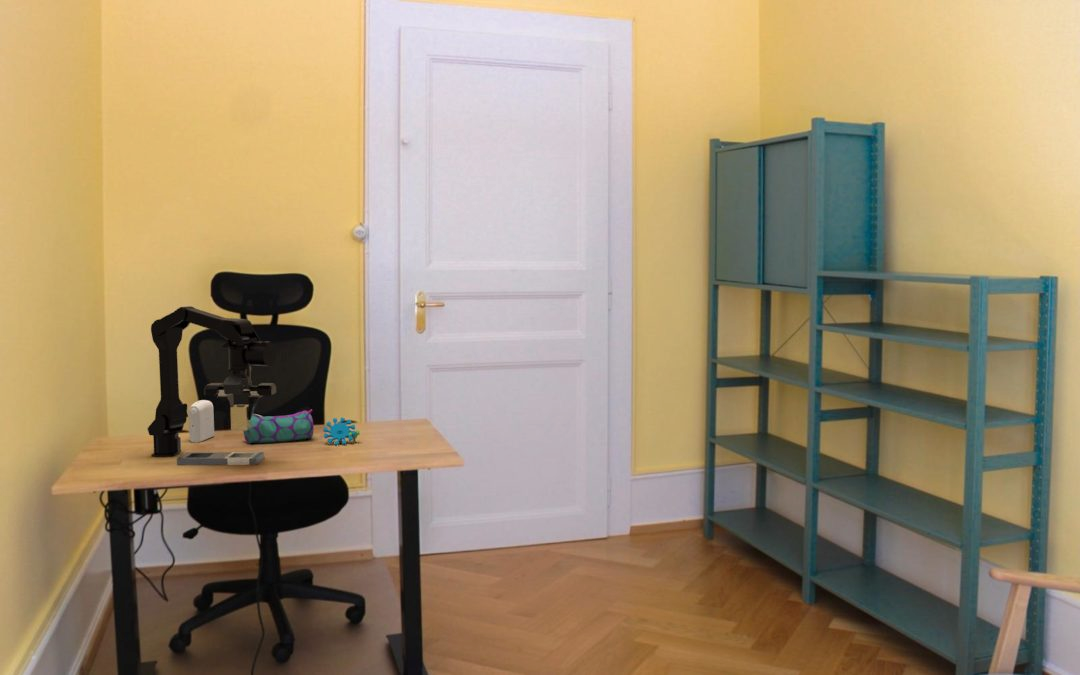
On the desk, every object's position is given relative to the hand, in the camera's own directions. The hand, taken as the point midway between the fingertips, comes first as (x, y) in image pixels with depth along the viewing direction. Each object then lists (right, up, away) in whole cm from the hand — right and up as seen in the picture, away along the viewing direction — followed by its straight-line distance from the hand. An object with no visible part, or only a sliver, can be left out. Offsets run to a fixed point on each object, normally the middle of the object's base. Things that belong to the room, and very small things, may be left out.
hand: (241, 419), depth 269 cm
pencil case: (+2, -10, +30) cm, 32 cm away
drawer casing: (-6, -12, +1) cm, 13 cm away
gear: (+23, -10, +27) cm, 37 cm away
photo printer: (-22, -9, +33) cm, 41 cm away
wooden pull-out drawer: (0, -3, 0) cm, 3 cm away
